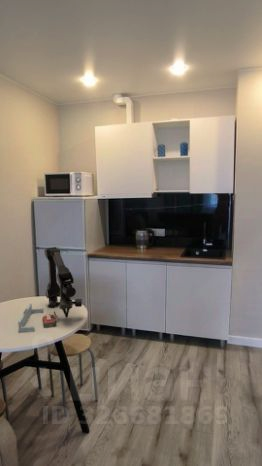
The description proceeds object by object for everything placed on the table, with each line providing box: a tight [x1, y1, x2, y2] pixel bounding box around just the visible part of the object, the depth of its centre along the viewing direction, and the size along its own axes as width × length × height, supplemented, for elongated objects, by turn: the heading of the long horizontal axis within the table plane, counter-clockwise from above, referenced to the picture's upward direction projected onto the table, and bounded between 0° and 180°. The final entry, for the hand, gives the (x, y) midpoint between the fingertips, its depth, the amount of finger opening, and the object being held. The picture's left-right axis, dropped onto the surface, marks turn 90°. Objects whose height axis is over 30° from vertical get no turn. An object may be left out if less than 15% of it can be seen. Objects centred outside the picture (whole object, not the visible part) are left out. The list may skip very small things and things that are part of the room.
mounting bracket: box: [17, 303, 44, 333], centre depth 186 cm, size 26×8×7 cm, turn 5°
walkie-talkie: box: [42, 310, 59, 329], centre depth 187 cm, size 9×4×20 cm
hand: (66, 317), depth 188 cm, fingers closed
